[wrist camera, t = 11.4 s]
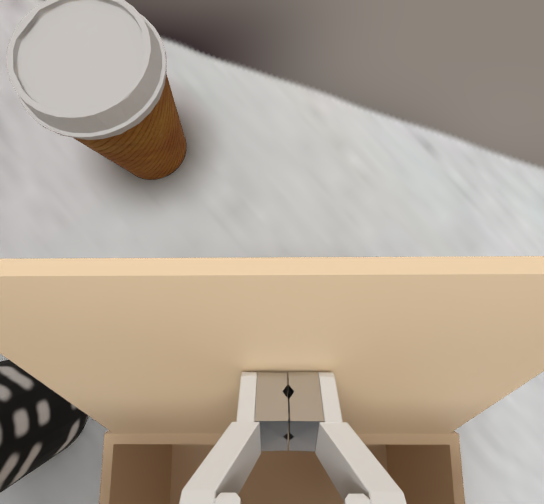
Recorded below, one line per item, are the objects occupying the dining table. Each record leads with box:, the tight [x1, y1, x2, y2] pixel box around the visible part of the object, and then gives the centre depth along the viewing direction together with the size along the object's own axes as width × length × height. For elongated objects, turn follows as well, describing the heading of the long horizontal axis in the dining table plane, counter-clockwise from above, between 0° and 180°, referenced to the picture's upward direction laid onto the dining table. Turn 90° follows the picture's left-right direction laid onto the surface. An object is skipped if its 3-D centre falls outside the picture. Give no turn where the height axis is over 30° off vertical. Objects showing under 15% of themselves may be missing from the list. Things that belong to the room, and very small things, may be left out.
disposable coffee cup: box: [6, 0, 186, 179], centre depth 25 cm, size 10×10×12 cm
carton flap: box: [0, 256, 544, 434], centre depth 12 cm, size 13×17×1 cm
